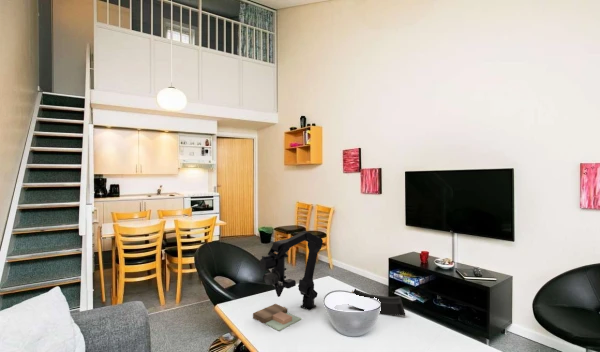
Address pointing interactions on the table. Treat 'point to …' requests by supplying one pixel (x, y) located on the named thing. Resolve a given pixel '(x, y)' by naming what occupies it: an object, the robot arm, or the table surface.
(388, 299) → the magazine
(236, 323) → the table surface
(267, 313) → the walnut stand
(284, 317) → the terracotta tile
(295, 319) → the green mat
